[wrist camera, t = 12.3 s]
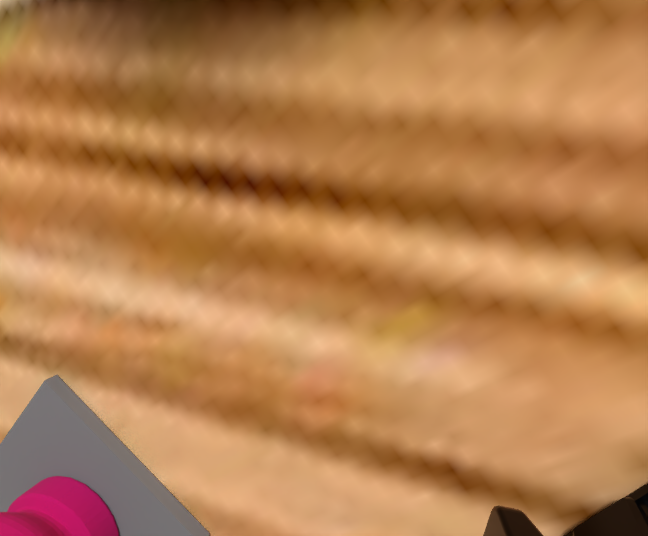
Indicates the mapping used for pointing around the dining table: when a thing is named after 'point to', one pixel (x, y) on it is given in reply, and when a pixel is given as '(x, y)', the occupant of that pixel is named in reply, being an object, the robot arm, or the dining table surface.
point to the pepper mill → (58, 511)
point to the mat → (87, 464)
